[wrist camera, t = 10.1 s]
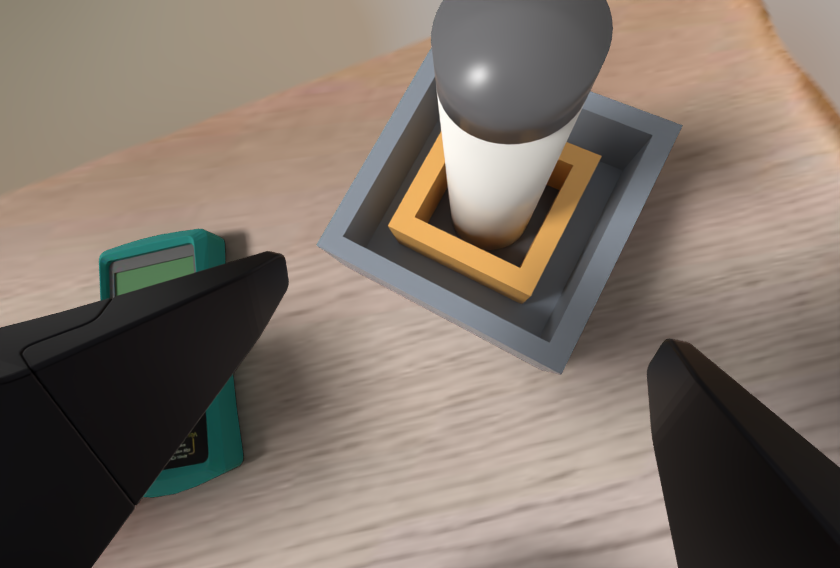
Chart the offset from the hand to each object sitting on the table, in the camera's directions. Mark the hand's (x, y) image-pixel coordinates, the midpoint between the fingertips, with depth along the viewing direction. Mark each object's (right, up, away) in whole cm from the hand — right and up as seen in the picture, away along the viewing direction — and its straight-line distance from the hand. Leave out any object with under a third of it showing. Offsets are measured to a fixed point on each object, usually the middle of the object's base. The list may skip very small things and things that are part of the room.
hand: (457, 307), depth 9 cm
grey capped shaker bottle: (+3, +5, +13) cm, 14 cm away
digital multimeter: (-16, -4, +15) cm, 22 cm away
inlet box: (+3, +4, +14) cm, 15 cm away
